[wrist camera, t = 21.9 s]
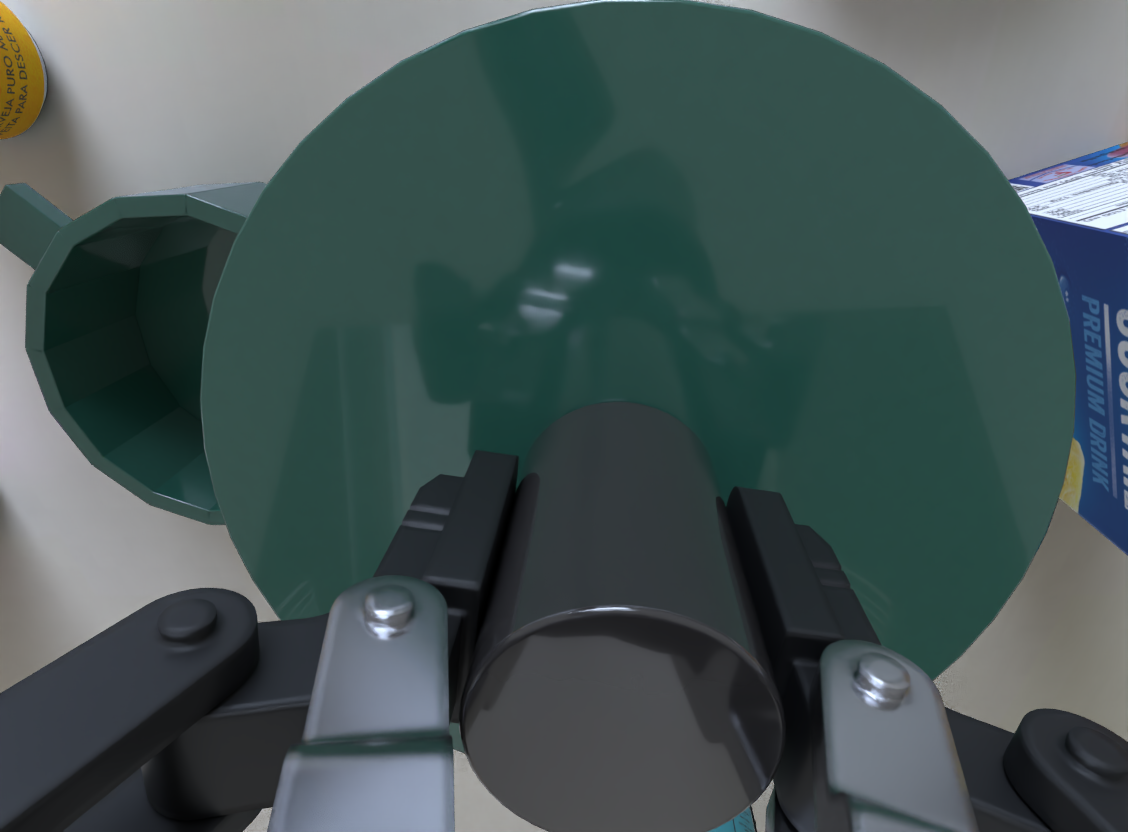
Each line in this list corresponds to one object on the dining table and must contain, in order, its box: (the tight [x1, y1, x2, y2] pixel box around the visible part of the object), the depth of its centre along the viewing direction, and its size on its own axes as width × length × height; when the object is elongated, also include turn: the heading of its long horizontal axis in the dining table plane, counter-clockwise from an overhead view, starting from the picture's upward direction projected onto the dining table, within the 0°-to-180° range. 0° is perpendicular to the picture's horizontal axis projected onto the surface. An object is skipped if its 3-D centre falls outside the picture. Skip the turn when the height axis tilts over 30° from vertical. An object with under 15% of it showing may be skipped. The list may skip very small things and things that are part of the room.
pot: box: [0, 182, 267, 525], centre depth 31 cm, size 15×20×6 cm
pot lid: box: [200, 0, 1076, 832], centre depth 10 cm, size 16×16×7 cm
